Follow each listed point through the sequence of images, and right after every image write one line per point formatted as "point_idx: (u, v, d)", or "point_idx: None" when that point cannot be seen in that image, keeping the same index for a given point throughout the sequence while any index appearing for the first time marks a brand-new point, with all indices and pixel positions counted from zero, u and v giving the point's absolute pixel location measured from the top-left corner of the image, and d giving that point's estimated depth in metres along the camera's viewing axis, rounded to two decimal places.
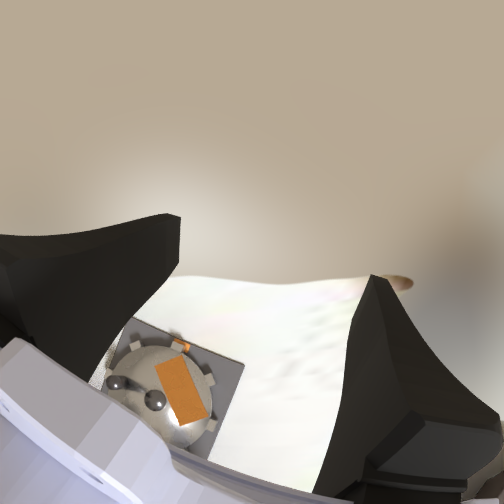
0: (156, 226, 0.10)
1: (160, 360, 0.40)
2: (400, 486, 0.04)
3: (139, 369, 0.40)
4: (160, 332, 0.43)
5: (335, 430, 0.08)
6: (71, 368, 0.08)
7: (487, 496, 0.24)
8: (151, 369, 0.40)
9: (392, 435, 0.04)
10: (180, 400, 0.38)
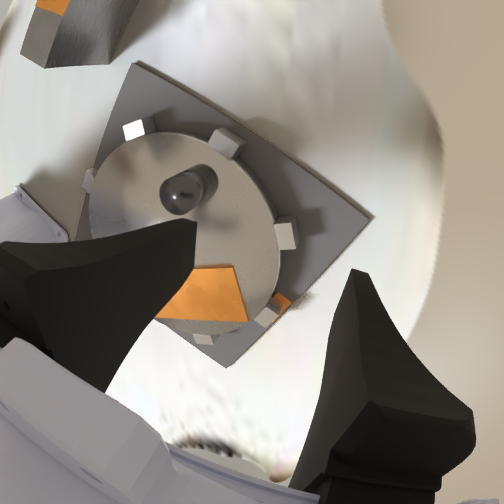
0: (174, 231, 0.10)
1: (244, 281, 0.20)
2: (366, 481, 0.04)
3: (229, 231, 0.19)
4: (310, 279, 0.21)
5: (312, 424, 0.08)
6: (89, 379, 0.08)
7: None
8: (226, 257, 0.20)
9: (354, 426, 0.04)
10: None
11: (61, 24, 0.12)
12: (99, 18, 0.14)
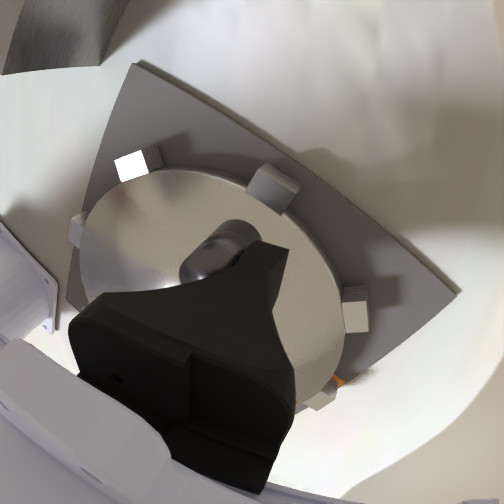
0: (278, 264, 0.09)
1: (294, 366, 0.15)
2: (186, 426, 0.05)
3: (276, 310, 0.14)
4: (373, 360, 0.15)
5: None
6: None
7: None
8: None
9: None
10: None
11: (25, 6, 0.06)
12: None
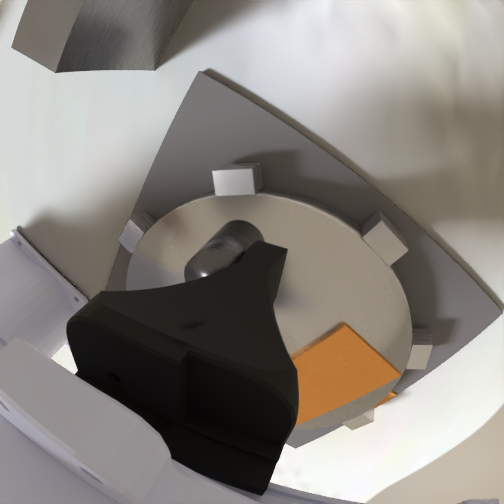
0: (276, 263, 0.09)
1: (370, 333, 0.13)
2: (189, 428, 0.05)
3: (313, 284, 0.13)
4: (424, 373, 0.15)
5: None
6: None
7: None
8: (330, 318, 0.13)
9: None
10: None
11: None
12: None
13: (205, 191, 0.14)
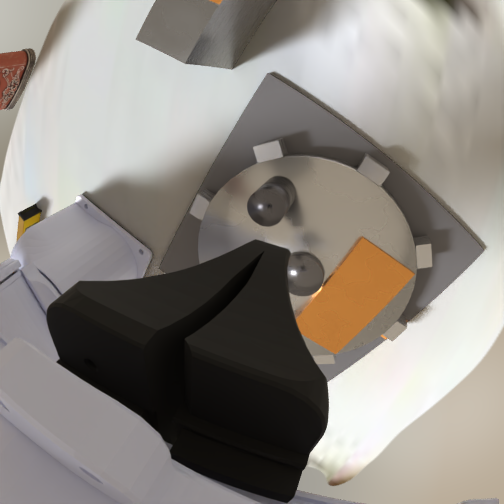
0: (257, 257, 0.10)
1: (381, 241, 0.18)
2: (215, 438, 0.05)
3: (333, 211, 0.19)
4: (428, 300, 0.20)
5: None
6: None
7: None
8: (351, 234, 0.19)
9: (185, 370, 0.05)
10: (333, 310, 0.21)
11: (215, 14, 0.12)
12: (242, 17, 0.14)
13: None
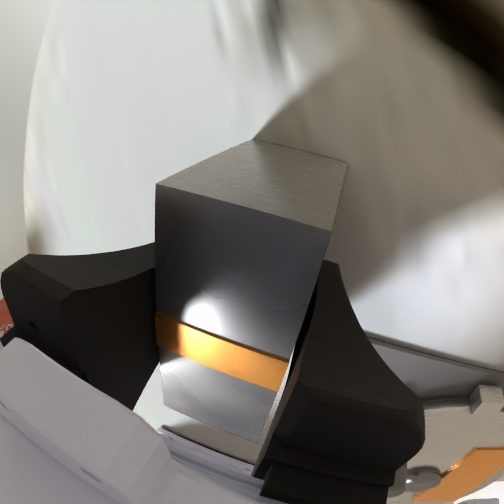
0: None
1: (494, 443, 0.12)
2: (309, 469, 0.05)
3: (448, 443, 0.13)
4: None
5: (275, 413, 0.08)
6: (119, 397, 0.07)
7: None
8: (465, 449, 0.13)
9: (288, 408, 0.04)
10: (450, 486, 0.14)
11: (275, 396, 0.08)
12: None
13: None
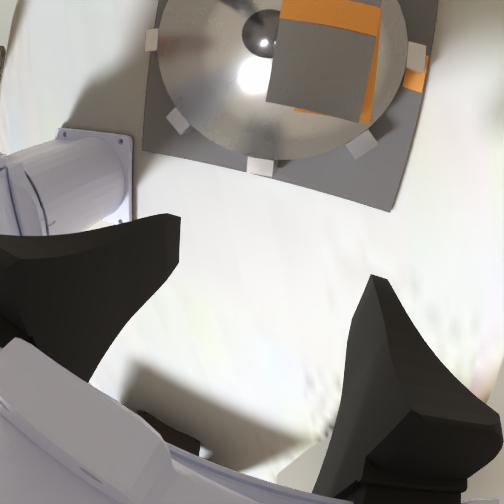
0: (156, 226, 0.10)
1: None
2: (400, 486, 0.04)
3: None
4: (432, 22, 0.13)
5: (335, 430, 0.08)
6: (71, 368, 0.08)
7: None
8: None
9: (393, 435, 0.04)
10: None
11: (373, 50, 0.09)
12: None
13: None
